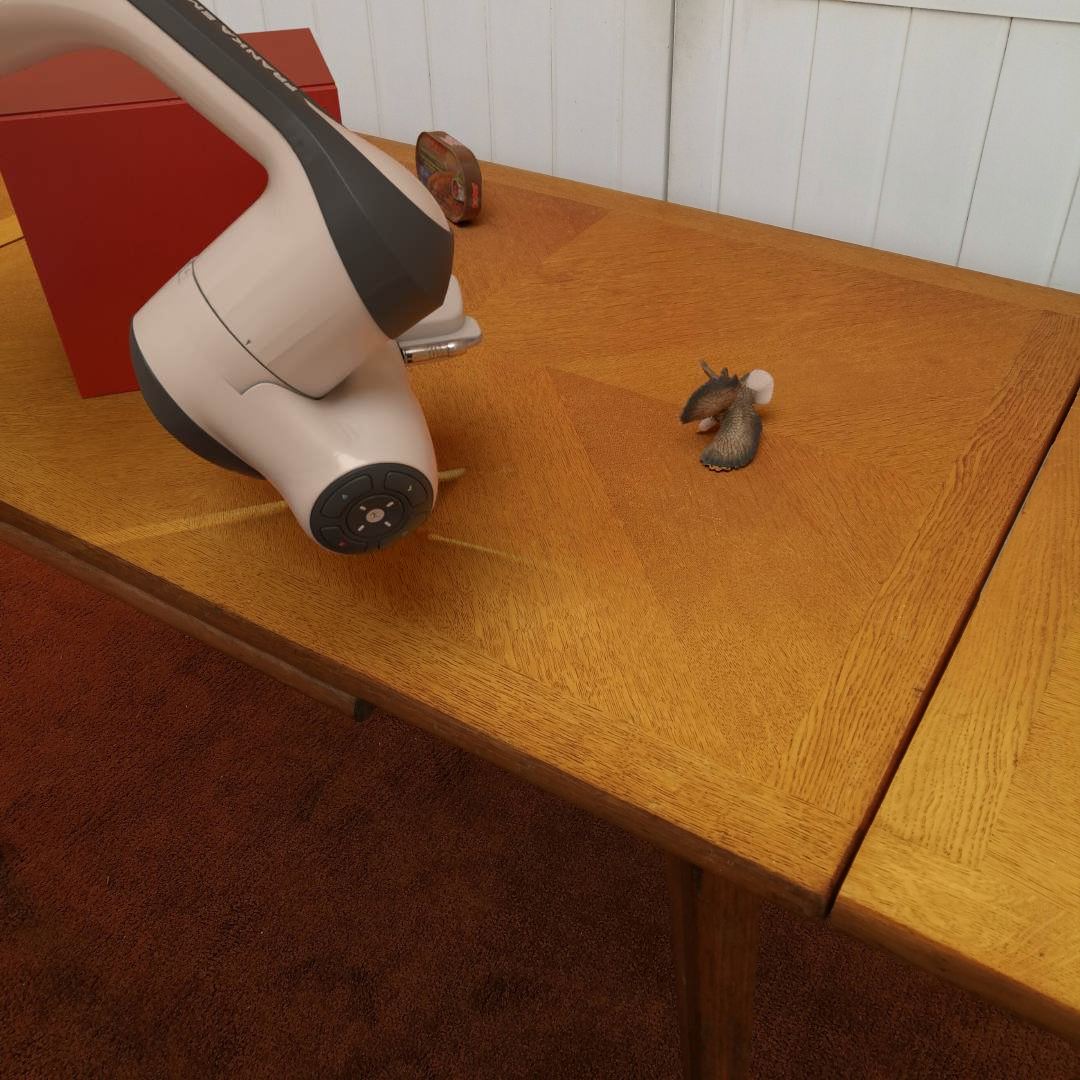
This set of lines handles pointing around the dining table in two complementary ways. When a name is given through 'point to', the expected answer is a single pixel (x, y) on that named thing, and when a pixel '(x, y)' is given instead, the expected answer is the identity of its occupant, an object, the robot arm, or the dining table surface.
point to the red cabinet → (142, 76)
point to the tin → (449, 175)
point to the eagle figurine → (729, 414)
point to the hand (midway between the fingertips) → (311, 280)
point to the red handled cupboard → (122, 213)
